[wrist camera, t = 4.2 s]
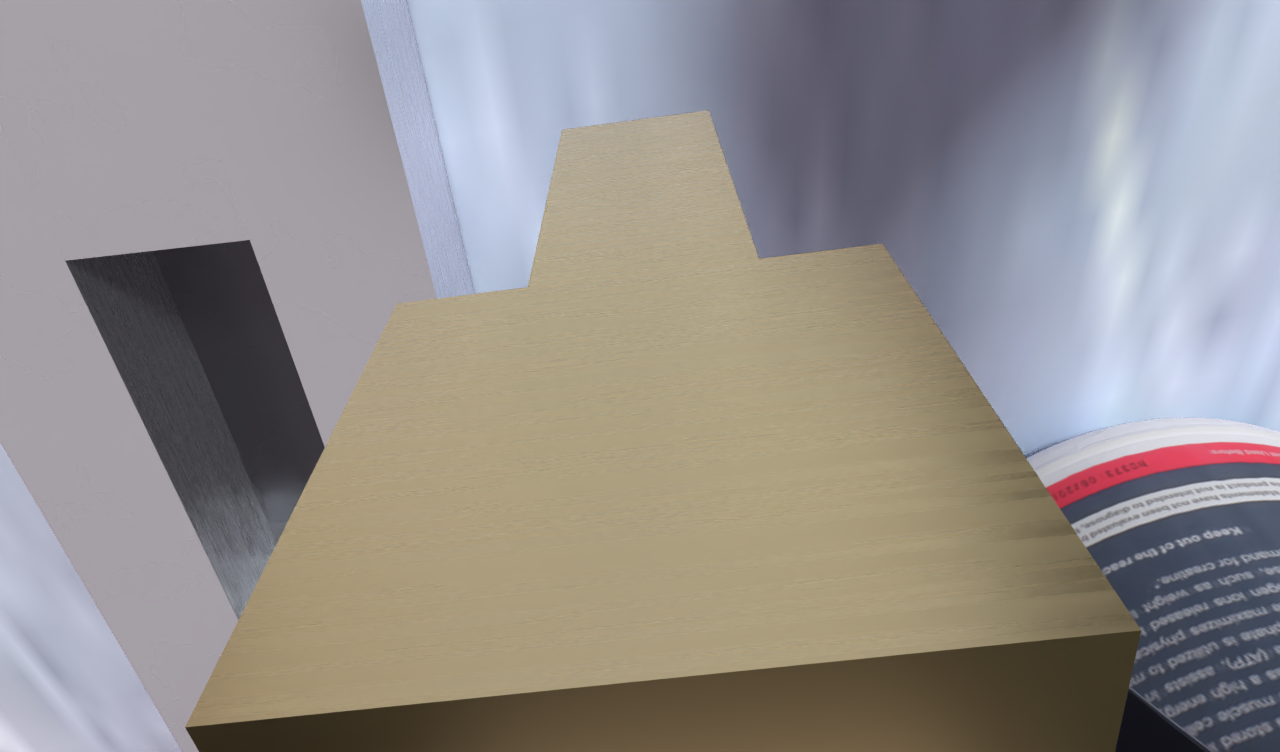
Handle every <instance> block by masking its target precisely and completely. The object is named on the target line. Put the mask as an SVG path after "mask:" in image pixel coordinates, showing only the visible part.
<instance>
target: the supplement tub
mask: <svg viewBox="0 0 1280 752" xmlns="http://www.w3.org/2000/svg"><path fill="white" fill-rule="evenodd" d="M1026 459H1027V460H1028V462H1029V463H1030V465H1031V466H1032V468H1033V469H1034V471H1035V472H1036V474H1037V475H1038V477H1039V478H1040V480H1041V481H1042V483H1043V484H1044V486H1045V487H1046V489H1047V490H1048V492H1049V493H1050V495H1051V496H1052V498H1053V499H1054V501H1055V502H1056V504H1057V505H1058V507H1059V508H1060V510H1061V511H1062V513H1063V514H1064V516H1065V517H1066V519H1067V520H1068V522H1069V523H1070V524H1071V526H1072V527H1073V529H1074V530H1075V532H1076V533H1077V535H1078V536H1079V538H1080V539H1081V541H1082V542H1083V544H1084V545H1085V547H1086V548H1087V550H1088V551H1089V553H1090V554H1091V556H1092V557H1093V559H1094V560H1095V562H1096V563H1097V565H1098V566H1099V568H1100V569H1101V571H1102V572H1103V574H1104V575H1105V577H1106V578H1107V580H1108V581H1109V583H1110V584H1111V586H1112V587H1113V589H1114V590H1115V592H1116V593H1117V595H1118V596H1119V598H1120V599H1121V601H1122V602H1123V604H1124V605H1125V607H1126V608H1127V610H1128V611H1129V613H1130V614H1131V616H1132V617H1133V619H1134V620H1135V622H1136V623H1137V625H1138V626H1139V628H1140V629H1141V634H1140V639H1139V643H1138V648H1137V653H1136V657H1135V662H1134V666H1133V671H1132V676H1131V680H1130V685H1129V688H1132V689H1134V690H1135V691H1136V692H1137V693H1139V694H1140V695H1141V696H1142V697H1144V698H1145V699H1146V700H1148V701H1149V702H1150V703H1151V704H1153V705H1154V706H1155V707H1156V708H1158V709H1159V710H1160V711H1161V712H1163V713H1164V714H1165V715H1166V716H1168V717H1169V718H1170V719H1172V720H1173V721H1174V722H1175V723H1177V724H1178V725H1179V726H1181V727H1182V728H1183V729H1185V730H1186V731H1187V732H1189V733H1190V734H1191V735H1193V736H1194V737H1195V738H1196V739H1198V740H1199V741H1200V742H1202V743H1203V744H1204V745H1206V746H1207V747H1208V748H1210V749H1211V750H1212V751H1214V752H1280V432H1278V431H1275V430H1271V429H1268V428H1264V427H1260V426H1256V425H1253V424H1248V423H1243V422H1238V421H1231V420H1224V419H1212V418H1197V417H1185V418H1159V419H1151V420H1144V421H1137V422H1130V423H1124V424H1118V425H1115V426H1111V427H1107V428H1103V429H1100V430H1096V431H1092V432H1088V433H1085V434H1082V435H1079V436H1076V437H1073V438H1071V439H1068V440H1066V441H1063V442H1061V443H1058V444H1056V445H1053V446H1051V447H1049V448H1047V449H1044V450H1042V451H1040V452H1038V453H1036V454H1034V455H1032V456H1030V457H1028V458H1026Z"/></svg>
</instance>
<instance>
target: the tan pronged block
mask: <svg viewBox="0 0 1280 752" xmlns="http://www.w3.org/2000/svg"><path fill="white" fill-rule="evenodd" d="M1140 634H1141V629H1140V628H1139V626H1138V625H1137V623H1136V622H1135V620H1134V619H1133V617H1132V616H1131V614H1130V613H1129V611H1128V610H1127V608H1126V607H1125V605H1124V604H1123V602H1122V601H1121V599H1120V598H1119V596H1118V595H1117V593H1116V592H1115V590H1114V589H1113V587H1112V586H1111V584H1110V583H1109V581H1108V580H1107V578H1106V577H1105V575H1104V574H1103V572H1102V571H1101V569H1100V568H1099V566H1098V565H1097V563H1096V562H1095V560H1094V559H1093V557H1092V556H1091V554H1090V553H1089V551H1088V550H1087V548H1086V547H1085V545H1084V544H1083V542H1082V541H1081V539H1080V538H1079V536H1078V535H1077V533H1076V532H1075V530H1074V529H1073V527H1072V526H1071V524H1070V523H1069V522H1068V520H1067V519H1066V517H1065V516H1064V514H1063V513H1062V511H1061V510H1060V508H1059V507H1058V505H1057V504H1056V502H1055V501H1054V499H1053V498H1052V496H1051V495H1050V493H1049V492H1048V490H1047V489H1046V487H1045V486H1044V484H1043V483H1042V481H1041V480H1040V478H1039V477H1038V475H1037V474H1036V472H1035V471H1034V469H1033V468H1032V466H1031V465H1030V463H1029V462H1028V460H1027V459H1026V457H1025V456H1024V454H1023V453H1022V451H1021V450H1020V448H1019V447H1018V445H1017V444H1016V442H1015V441H1014V439H1013V438H1012V436H1011V435H1010V433H1009V432H1008V430H1007V429H1006V427H1005V426H1004V424H1003V423H1002V421H1001V420H1000V418H999V417H998V415H997V414H996V412H995V411H994V409H993V408H992V406H991V405H990V403H989V402H988V401H987V399H986V398H985V396H984V395H983V393H982V392H981V390H980V389H979V387H978V386H977V384H976V383H975V381H974V380H973V378H972V377H971V375H970V374H969V372H968V371H967V369H966V368H965V366H964V365H963V363H962V362H961V360H960V359H959V357H958V356H957V354H956V353H955V351H954V350H953V348H952V347H951V345H950V344H949V342H948V341H947V339H946V338H945V336H944V335H943V333H942V332H941V330H940V329H939V327H938V326H937V324H936V323H935V321H934V320H933V318H932V317H931V315H930V314H929V312H928V311H927V309H926V308H925V306H924V305H923V303H922V302H921V300H920V299H919V297H918V296H917V294H916V293H915V291H914V290H913V288H912V287H911V285H910V284H909V282H908V281H907V279H906V278H905V277H904V275H903V274H902V272H901V271H900V269H899V268H898V266H897V265H896V263H895V262H894V260H893V259H892V257H891V256H890V254H889V253H888V251H887V250H886V248H885V247H884V245H883V244H875V245H867V246H859V247H851V248H843V249H835V250H827V251H819V252H810V253H802V254H794V255H786V256H778V257H770V258H762V259H759V257H758V254H757V251H756V248H755V245H754V242H753V239H752V236H751V233H750V231H749V228H748V225H747V222H746V219H745V216H744V213H743V210H742V207H741V204H740V201H739V198H738V195H737V192H736V189H735V186H734V183H733V180H732V178H731V175H730V172H729V169H728V166H727V163H726V160H725V157H724V154H723V151H722V148H721V145H720V142H719V139H718V136H717V133H716V130H715V127H714V125H713V122H712V119H711V116H710V113H709V110H707V111H700V112H692V113H685V114H677V115H669V116H662V117H654V118H647V119H639V120H631V121H624V122H616V123H609V124H601V125H593V126H586V127H578V128H571V129H563V130H562V132H561V136H560V141H559V146H558V150H557V155H556V160H555V164H554V169H553V173H552V178H551V183H550V187H549V192H548V197H547V201H546V206H545V210H544V215H543V220H542V224H541V229H540V234H539V238H538V243H537V247H536V252H535V257H534V261H533V266H532V271H531V275H530V280H529V284H528V287H527V288H519V289H511V290H502V291H494V292H486V293H478V294H470V295H462V296H454V297H446V298H438V299H430V300H421V301H413V302H405V303H397V304H396V306H395V308H394V310H393V312H392V314H391V316H390V318H389V320H388V322H387V324H386V326H385V328H384V330H383V332H382V334H381V336H380V338H379V340H378V342H377V344H376V346H375V348H374V350H373V352H372V354H371V356H370V358H369V360H368V362H367V364H366V366H365V368H364V370H363V372H362V374H361V376H360V378H359V380H358V382H357V384H356V386H355V388H354V390H353V392H352V394H351V396H350V398H349V400H348V402H347V404H346V406H345V408H344V410H343V412H342V414H341V416H340V418H339V420H338V422H337V424H336V426H335V428H334V430H333V432H332V434H331V436H330V438H329V440H328V442H327V444H326V446H325V448H324V450H323V452H322V454H321V456H320V458H319V460H318V462H317V464H316V466H315V468H314V470H313V472H312V474H311V476H310V478H309V480H308V482H307V484H306V486H305V488H304V490H303V492H302V494H301V496H300V498H299V500H298V502H297V504H296V506H295V508H294V510H293V512H292V514H291V516H290V518H289V520H288V522H287V524H286V526H285V528H284V530H283V532H282V534H281V536H280V538H279V540H278V542H277V544H276V546H275V548H274V550H273V552H272V554H271V556H270V558H269V560H268V562H267V564H266V566H265V568H264V570H263V572H262V574H261V576H260V578H259V580H258V582H257V584H256V586H255V588H254V590H253V592H252V594H251V596H250V598H249V600H248V602H247V604H246V606H245V608H244V610H243V612H242V614H241V616H240V618H239V620H238V622H237V624H236V626H235V628H234V630H233V632H232V634H231V636H230V638H229V640H228V642H227V644H226V646H225V648H224V650H223V652H222V654H221V656H220V658H219V660H218V662H217V664H216V666H215V668H214V670H213V672H212V674H211V676H210V678H209V680H208V682H207V684H206V686H205V688H204V690H203V692H202V694H201V696H200V698H199V700H198V702H197V704H196V706H195V708H194V710H193V712H192V714H191V716H190V718H189V720H188V722H187V724H186V726H185V728H186V730H187V732H188V734H189V735H190V737H191V739H192V740H193V742H194V744H195V746H196V747H197V749H198V751H199V752H1115V749H1116V745H1117V740H1118V735H1119V731H1120V726H1121V722H1122V717H1123V712H1124V708H1125V703H1126V699H1127V694H1128V689H1129V685H1130V680H1131V676H1132V671H1133V666H1134V662H1135V657H1136V653H1137V648H1138V643H1139V639H1140Z"/></svg>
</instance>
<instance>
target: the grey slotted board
mask: <svg viewBox="0 0 1280 752" xmlns="http://www.w3.org/2000/svg"><path fill="white" fill-rule="evenodd" d="M470 294H474V290H473V286H472V281H471V277H470V273H469V268H468V264H467V260H466V255H465V251H464V247H463V242H462V238H461V234H460V229H459V225H458V221H457V216H456V212H455V208H454V203H453V199H452V195H451V190H450V186H449V182H448V177H447V173H446V169H445V164H444V160H443V156H442V151H441V147H440V143H439V138H438V134H437V130H436V125H435V121H434V117H433V112H432V108H431V104H430V99H429V95H428V91H427V86H426V82H425V78H424V73H423V69H422V65H421V60H420V56H419V52H418V47H417V43H416V39H415V34H414V30H413V26H412V21H411V17H410V13H409V8H408V4H407V0H0V442H1V444H2V446H3V447H4V449H5V451H6V453H7V454H8V456H9V458H10V459H11V461H12V463H13V465H14V466H15V468H16V470H17V471H18V473H19V475H20V476H21V478H22V480H23V482H24V483H25V485H26V487H27V488H28V490H29V492H30V493H31V495H32V497H33V499H34V500H35V502H36V504H37V505H38V507H39V509H40V510H41V512H42V514H43V516H44V517H45V519H46V521H47V522H48V524H49V526H50V527H51V529H52V531H53V533H54V534H55V536H56V538H57V539H58V541H59V543H60V544H61V546H62V548H63V550H64V551H65V553H66V555H67V556H68V558H69V560H70V561H71V563H72V565H73V567H74V568H75V570H76V572H77V573H78V575H79V577H80V578H81V580H82V582H83V584H84V585H85V587H86V589H87V590H88V592H89V594H90V595H91V597H92V599H93V601H94V602H95V604H96V606H97V607H98V609H99V611H100V612H101V614H102V616H103V618H104V619H105V621H106V623H107V624H108V626H109V628H110V629H111V631H112V633H113V635H114V636H115V638H116V640H117V641H118V643H119V645H120V646H121V648H122V650H123V652H124V653H125V655H126V657H127V658H128V660H129V662H130V663H131V665H132V667H133V669H134V670H135V672H136V674H137V675H138V677H139V679H140V680H141V682H142V684H143V686H144V687H145V689H146V691H147V692H148V694H149V696H150V697H151V699H152V701H153V703H154V704H155V706H156V708H157V709H158V711H159V713H160V714H161V716H162V718H163V720H164V721H165V723H166V725H167V726H168V728H169V730H170V731H171V733H172V735H173V737H174V738H175V740H176V742H177V743H178V745H179V747H180V748H181V750H182V752H199V751H198V749H197V747H196V746H195V744H194V742H193V740H192V739H191V737H190V735H189V734H188V732H187V730H186V728H185V726H186V724H187V722H188V720H189V718H190V716H191V714H192V712H193V710H194V708H195V706H196V704H197V702H198V700H199V698H200V696H201V694H202V692H203V690H204V688H205V686H206V684H207V682H208V680H209V678H210V676H211V674H212V672H213V670H214V668H215V666H216V664H217V662H218V660H219V658H220V656H221V654H222V652H223V650H224V648H225V646H226V644H227V642H228V640H229V638H230V636H231V634H232V632H233V630H234V628H235V626H236V624H237V622H238V620H239V618H240V616H241V614H242V612H243V610H244V608H245V606H246V604H247V602H248V600H249V598H250V596H251V594H252V592H253V590H254V588H255V586H256V584H257V582H258V580H259V578H260V576H261V574H262V572H263V570H264V568H265V566H266V564H267V562H268V560H269V558H270V556H271V554H272V552H273V550H274V548H275V546H276V544H277V542H278V540H279V538H280V536H281V534H282V532H283V530H284V528H285V526H286V524H287V522H288V520H289V518H290V516H291V514H292V512H293V510H294V508H295V506H296V504H297V502H298V500H299V498H300V496H301V494H302V492H303V490H304V488H305V486H306V484H307V482H308V480H309V478H310V476H311V474H312V472H313V470H314V468H315V466H316V464H317V462H318V460H319V458H320V456H321V454H322V452H323V450H324V448H325V446H326V444H327V442H328V440H329V438H330V436H331V434H332V432H333V430H334V428H335V426H336V424H337V422H338V420H339V418H340V416H341V414H342V412H343V410H344V408H345V406H346V404H347V402H348V400H349V398H350V396H351V394H352V392H353V390H354V388H355V386H356V384H357V382H358V380H359V378H360V376H361V374H362V372H363V370H364V368H365V366H366V364H367V362H368V360H369V358H370V356H371V354H372V352H373V350H374V348H375V346H376V344H377V342H378V340H379V338H380V336H381V334H382V332H383V330H384V328H385V326H386V324H387V322H388V320H389V318H390V316H391V314H392V312H393V310H394V308H395V306H396V304H397V303H405V302H413V301H421V300H430V299H438V298H446V297H454V296H462V295H470Z"/></svg>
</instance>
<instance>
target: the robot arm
mask: <svg viewBox="0 0 1280 752" xmlns="http://www.w3.org/2000/svg"><path fill="white" fill-rule="evenodd" d="M1115 752H1214V751H1212V750H1211V749H1210V748H1208V747H1207V746H1206V745H1204V744H1203V743H1202V742H1200V741H1199V740H1198V739H1196V738H1195V737H1194V736H1193V735H1191V734H1190V733H1189V732H1187V731H1186V730H1185V729H1183V728H1182V727H1181V726H1179V725H1178V724H1177V723H1175V722H1174V721H1173V720H1172V719H1170V718H1169V717H1168V716H1166V715H1165V714H1164V713H1163V712H1161V711H1160V710H1159V709H1158V708H1156V707H1155V706H1154V705H1153V704H1151V703H1150V702H1149V701H1148V700H1146V699H1145V698H1144V697H1142V696H1141V695H1140V694H1139V693H1137V692H1136V691H1135V690H1134V689H1132V688H1129V689H1128V694H1127V699H1126V703H1125V708H1124V712H1123V717H1122V722H1121V726H1120V731H1119V735H1118V740H1117V745H1116V749H1115Z"/></svg>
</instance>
